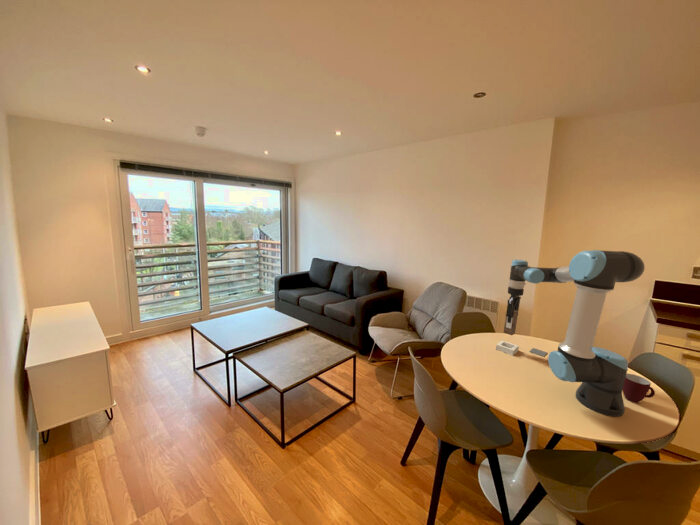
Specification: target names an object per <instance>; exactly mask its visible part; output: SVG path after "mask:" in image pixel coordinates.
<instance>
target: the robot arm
mask: <svg viewBox="0 0 700 525" xmlns="http://www.w3.org/2000/svg"><path fill="white" fill-rule="evenodd" d="M644 272H645V263H644V260H643V259H642V258H641V257H640V256H638V255H637V254H634V253H632V252H629V251H622V250H620V251H614V250H600V249H598V250H597V249H596V250H595V249H594V250H593V249H591V250H582V251H579V252H578V253H577V254H575V255H574V256H573V257H572V258H571V260H570V261H569V265H567V266H559V267H535V266H533V267H532V266H529V262H528V261H527V260H523V259H513V260H512V262H511V265H510V272H509V279H508V280H509V281H508V288H507V293H508V295H510V297H509V299H507V306H506V312H505V317H506V316H507V322H506V327H507V328H510V329H511V328H512V321H513V312H514V310H516V311H518V312H519V310H520V309H519V308H520V304H521V299H522V298H521V296H523V295H524V292H525V289H524V288H525V286H526V284H527V283H526V282H528V283H531V284H539V283H554V284H566V283H567V282H568V283H570V282H573V284H574V285H575V286H576V291H575V296H574V301H573V305H572V308H571V309H572V310H571V313H570V317H569V321H568V324H567V325H568V326H567V329H566V333H565V338H564V341H562V342H560V343H559V344H558V347H557V350H552V351H551V352H549V354H548V355H547V356H548V358H547V361H548V365H549V368H550V370H551V372H552V373H553V375H554V376H555V377H556V379H558V380H560V381H562V382H569V383H580V385H579V386H578V387H577V389H576V390H575V391H576V392H575V398H576V400H577V401H578V402H579V403H580V404H581V405H583V406H585V407H587V408H588V409H590V410H591V411H592V410H593V411H595V412H596V413H599V414H602V415H606V416H609V417H622V416H623V415H624V414H625V408H626V407H625V403H624V398H623V386H624V382H625V378H626V374H628V371H629V369H628V367H629V362H628V360H627V358H626V357H624V356H622V355H621V354H618V353H616V352H614V351H612V350H608V349H607V348H603V347H599V346H597V347H596V346H594V342H595V338H596V336H597V330H598V327H599V324H600V320H601V318H602V316H601V315H602V312H603V309H604V305H605V302H606V297H607V294H608V293H609V292H611V291H613V290H615V285H616V284H617V283H628V282H629V283H630V282H634V281H635V280H636V281H637V279H639V278H640V277H641V276H642V275H643V273H644Z"/></svg>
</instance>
